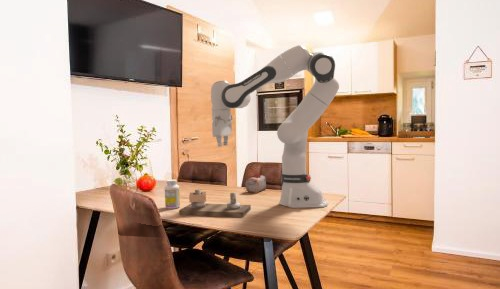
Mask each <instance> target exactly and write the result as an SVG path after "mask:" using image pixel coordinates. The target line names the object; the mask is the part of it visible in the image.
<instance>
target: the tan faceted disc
mask: <svg viewBox="0 0 500 289" xmlns="http://www.w3.org/2000/svg"><path fill="white" fill-rule="evenodd" d="M188 196H189V197H188V199H189V203H191V202H205V203H206V202H207V191H201V194H197V195H195V191H191V192H189V195H188Z"/></svg>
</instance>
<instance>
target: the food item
mask: <svg viewBox="0 0 500 289" xmlns="http://www.w3.org/2000/svg"><path fill="white" fill-rule="evenodd" d="M266 181H267V179H266V176H265V175H261V174H259V173H256V174H253V173H252V174H251V177H250V178H248V179H247V180H246V181H245V190H246V191H247V192H248V193H252V194H258V193H259V192H262V191H264V190H266V189H267V182H266Z"/></svg>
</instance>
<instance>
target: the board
mask: <svg viewBox="0 0 500 289" xmlns="http://www.w3.org/2000/svg"><path fill="white" fill-rule="evenodd" d="M194 192H195V195H197V194H201V192H202V190H201V189H195V190H194ZM229 196H230V197H229V198H230V199H229V200H230V202H227V203H206V202H190V204H187V205H186V206H184V207H183V208H180V209H179V210H178V215H179V216H193V217H195V216H197V217H200V216H201V217H225V218H226V217H227V218H245V216H246V215H247V214H248V213H249V212H250V210H252V206H251V204H241V203H240V202H238V201H237V193H236V192H230V194H229Z"/></svg>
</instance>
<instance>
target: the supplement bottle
mask: <svg viewBox="0 0 500 289" xmlns="http://www.w3.org/2000/svg"><path fill="white" fill-rule="evenodd" d="M177 183H178V180H177V179H173V178H172V179H167V180H166V185H165V187H164V204H165V209H168V210H174V209H179V208H180V207H181V198H180V185H178V184H177Z"/></svg>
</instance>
